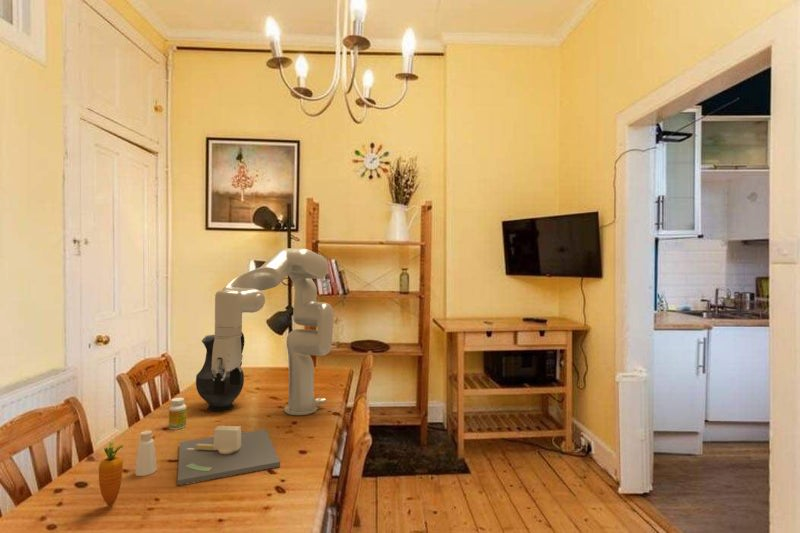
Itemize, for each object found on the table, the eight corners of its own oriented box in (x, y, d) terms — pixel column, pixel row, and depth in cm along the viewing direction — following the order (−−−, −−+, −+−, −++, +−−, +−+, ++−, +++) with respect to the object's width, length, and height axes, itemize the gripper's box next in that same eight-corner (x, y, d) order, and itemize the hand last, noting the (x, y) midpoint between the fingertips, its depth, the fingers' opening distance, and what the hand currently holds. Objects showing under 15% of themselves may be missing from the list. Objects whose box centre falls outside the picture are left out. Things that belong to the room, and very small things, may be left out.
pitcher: (185, 411, 168) (186, 333, 167) (226, 396, 187) (226, 326, 187) (221, 418, 161) (221, 337, 161) (259, 401, 181) (259, 329, 180)
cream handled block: (242, 447, 133) (242, 425, 133) (235, 454, 128) (235, 431, 128) (201, 445, 134) (201, 423, 134) (192, 452, 129) (192, 429, 129)
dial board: (265, 433, 148) (265, 428, 148) (280, 466, 125) (280, 461, 125) (179, 446, 137) (179, 441, 137) (177, 486, 114) (177, 479, 114)
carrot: (105, 501, 106) (106, 439, 106) (127, 500, 107) (127, 439, 106) (93, 512, 101) (93, 448, 101) (115, 512, 102) (116, 447, 101)
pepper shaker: (141, 478, 117) (141, 437, 117) (130, 472, 120) (130, 432, 120) (161, 470, 122) (161, 430, 122) (150, 465, 125) (150, 426, 125)
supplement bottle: (179, 430, 150) (179, 402, 150) (165, 429, 151) (165, 401, 151) (189, 424, 155) (189, 397, 155) (176, 423, 156) (176, 396, 156)
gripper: (229, 327, 139) (229, 380, 139) (200, 336, 122) (200, 397, 122) (252, 327, 139) (252, 381, 139) (226, 337, 121) (226, 398, 122)
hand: (227, 389), depth 130 cm, fingers open, 9 cm apart
